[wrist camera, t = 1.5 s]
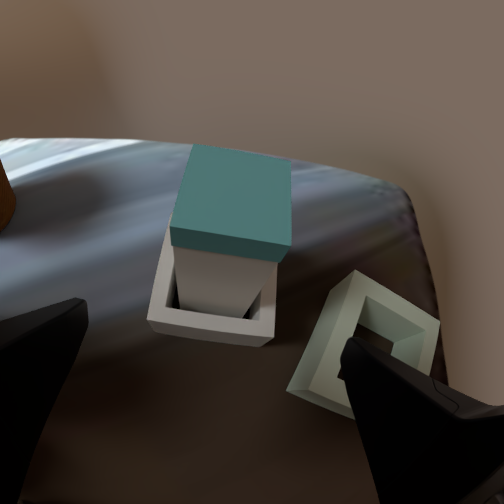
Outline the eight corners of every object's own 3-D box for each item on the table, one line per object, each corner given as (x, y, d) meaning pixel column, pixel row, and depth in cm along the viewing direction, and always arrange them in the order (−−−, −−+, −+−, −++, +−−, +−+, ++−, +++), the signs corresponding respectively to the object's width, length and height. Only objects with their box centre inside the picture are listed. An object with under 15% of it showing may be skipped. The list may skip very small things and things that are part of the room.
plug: (239, 323, 22) (291, 245, 11) (180, 314, 21) (169, 226, 10) (244, 269, 24) (290, 161, 13) (189, 260, 23) (193, 143, 12)
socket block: (378, 428, 19) (412, 430, 15) (285, 390, 20) (307, 389, 16) (408, 334, 24) (440, 321, 20) (330, 290, 25) (354, 269, 21)
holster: (260, 347, 21) (273, 337, 18) (154, 332, 20) (146, 319, 17) (265, 254, 25) (278, 230, 22) (173, 239, 24) (171, 212, 20)
